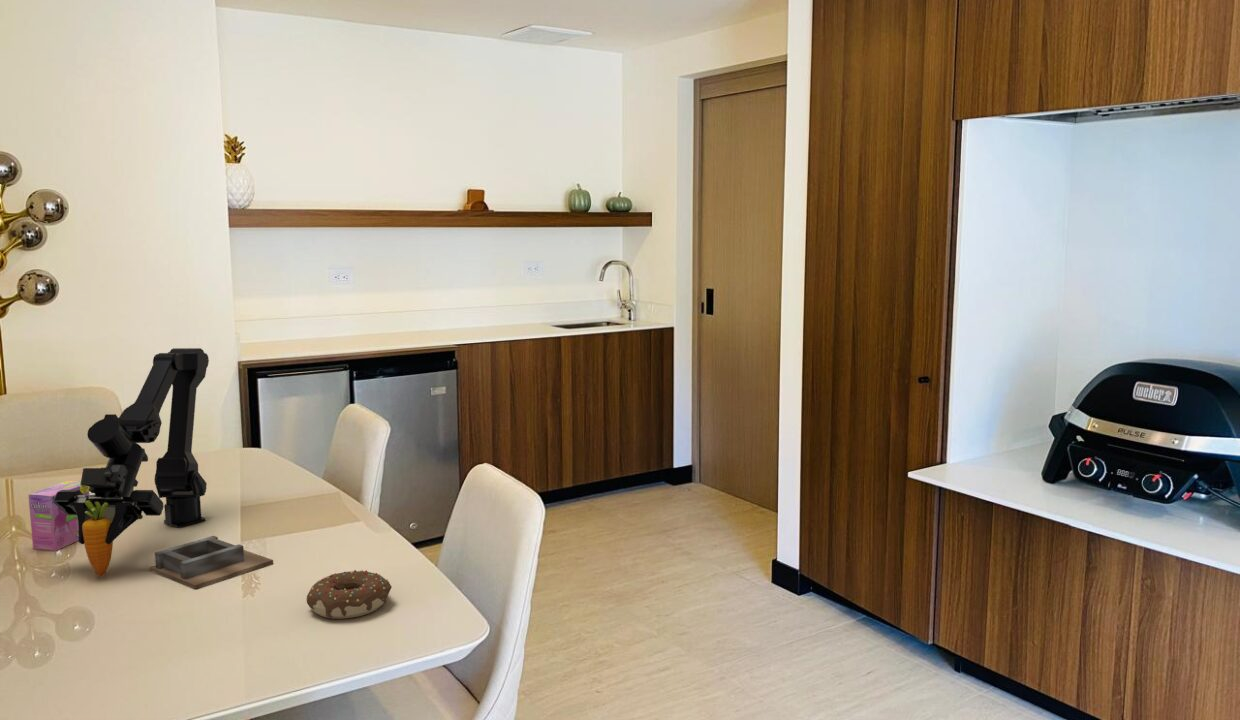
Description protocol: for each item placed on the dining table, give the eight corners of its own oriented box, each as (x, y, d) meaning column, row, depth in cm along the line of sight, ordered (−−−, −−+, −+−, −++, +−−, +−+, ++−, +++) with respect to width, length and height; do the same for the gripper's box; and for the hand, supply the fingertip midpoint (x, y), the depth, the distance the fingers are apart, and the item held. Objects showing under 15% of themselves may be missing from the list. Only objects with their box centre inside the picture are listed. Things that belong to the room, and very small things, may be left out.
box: (56, 551, 191) (51, 495, 190) (32, 549, 192) (26, 493, 191) (94, 535, 201) (89, 481, 200) (71, 533, 202) (66, 480, 201)
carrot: (122, 574, 178) (116, 498, 176) (98, 583, 174) (91, 505, 172) (104, 570, 180) (98, 495, 178) (80, 579, 176) (73, 502, 174)
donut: (347, 630, 154) (345, 601, 153) (291, 612, 161) (290, 584, 160) (409, 600, 166) (408, 573, 165) (355, 585, 173) (354, 559, 172)
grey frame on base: (227, 547, 193) (226, 529, 192) (273, 563, 184) (272, 545, 183) (150, 570, 180) (148, 551, 180) (195, 589, 171) (194, 569, 170)
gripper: (54, 449, 178) (22, 523, 168) (151, 449, 177) (124, 523, 168) (82, 478, 187) (53, 550, 177) (174, 478, 186) (150, 550, 177)
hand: (94, 543), depth 175 cm, fingers closed on carrot, 5 cm apart
